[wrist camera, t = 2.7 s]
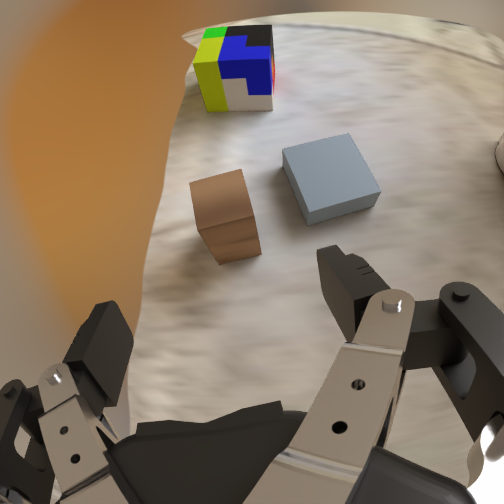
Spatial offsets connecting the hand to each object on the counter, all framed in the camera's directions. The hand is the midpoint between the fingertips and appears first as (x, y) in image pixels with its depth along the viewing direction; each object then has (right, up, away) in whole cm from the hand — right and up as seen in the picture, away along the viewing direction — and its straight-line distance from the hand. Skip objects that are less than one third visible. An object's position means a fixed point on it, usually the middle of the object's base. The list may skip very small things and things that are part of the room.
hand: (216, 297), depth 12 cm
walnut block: (-1, +3, +25) cm, 25 cm away
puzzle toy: (0, +28, +34) cm, 44 cm away
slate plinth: (+11, +10, +27) cm, 31 cm away
